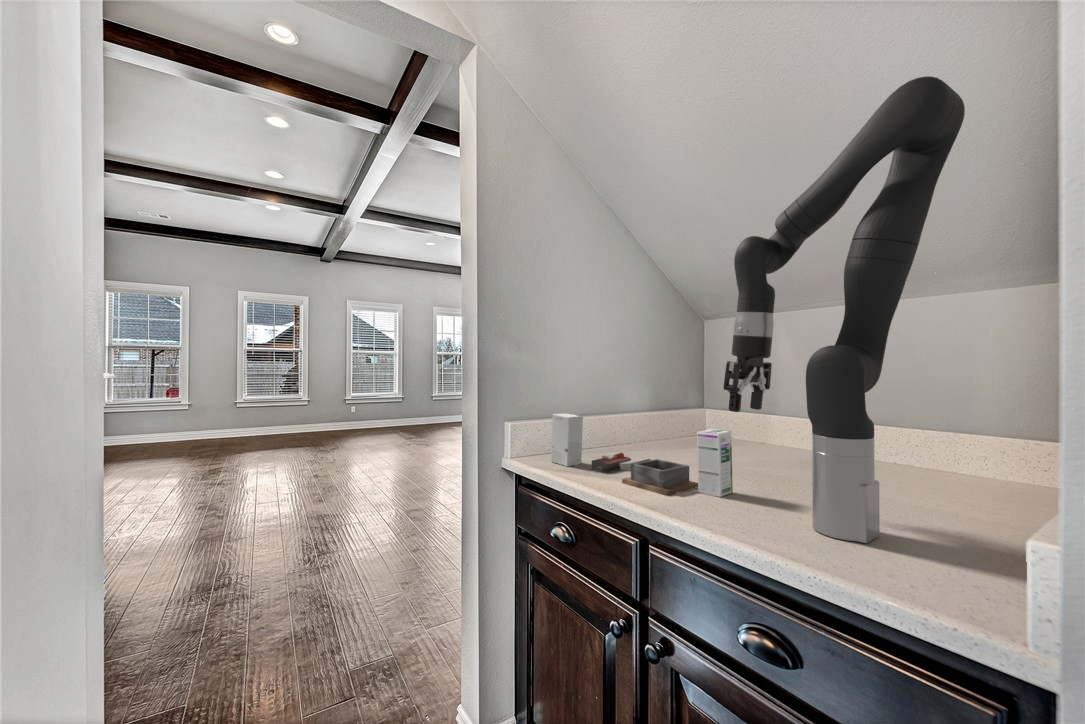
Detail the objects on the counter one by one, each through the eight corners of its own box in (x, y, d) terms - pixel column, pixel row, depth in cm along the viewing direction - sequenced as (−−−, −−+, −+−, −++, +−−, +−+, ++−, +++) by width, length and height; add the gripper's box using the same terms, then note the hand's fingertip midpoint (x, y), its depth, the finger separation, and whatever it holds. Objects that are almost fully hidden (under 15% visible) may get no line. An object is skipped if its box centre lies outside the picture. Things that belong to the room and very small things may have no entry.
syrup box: (721, 497, 101) (720, 433, 101) (696, 492, 105) (696, 430, 105) (733, 493, 105) (732, 430, 105) (709, 488, 109) (708, 428, 109)
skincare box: (550, 462, 138) (550, 414, 138) (565, 459, 142) (565, 412, 142) (568, 467, 132) (568, 416, 132) (583, 464, 135) (583, 415, 135)
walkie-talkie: (610, 476, 122) (653, 465, 136) (610, 460, 122) (653, 450, 136) (586, 470, 129) (629, 460, 142) (586, 455, 129) (629, 446, 142)
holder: (698, 487, 110) (698, 466, 110) (667, 495, 103) (667, 473, 103) (653, 475, 121) (653, 457, 121) (622, 482, 114) (622, 463, 114)
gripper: (751, 334, 88) (743, 416, 89) (787, 336, 96) (779, 411, 97) (717, 332, 94) (710, 409, 95) (753, 334, 102) (746, 405, 103)
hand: (745, 410), depth 96 cm, fingers open, 8 cm apart
